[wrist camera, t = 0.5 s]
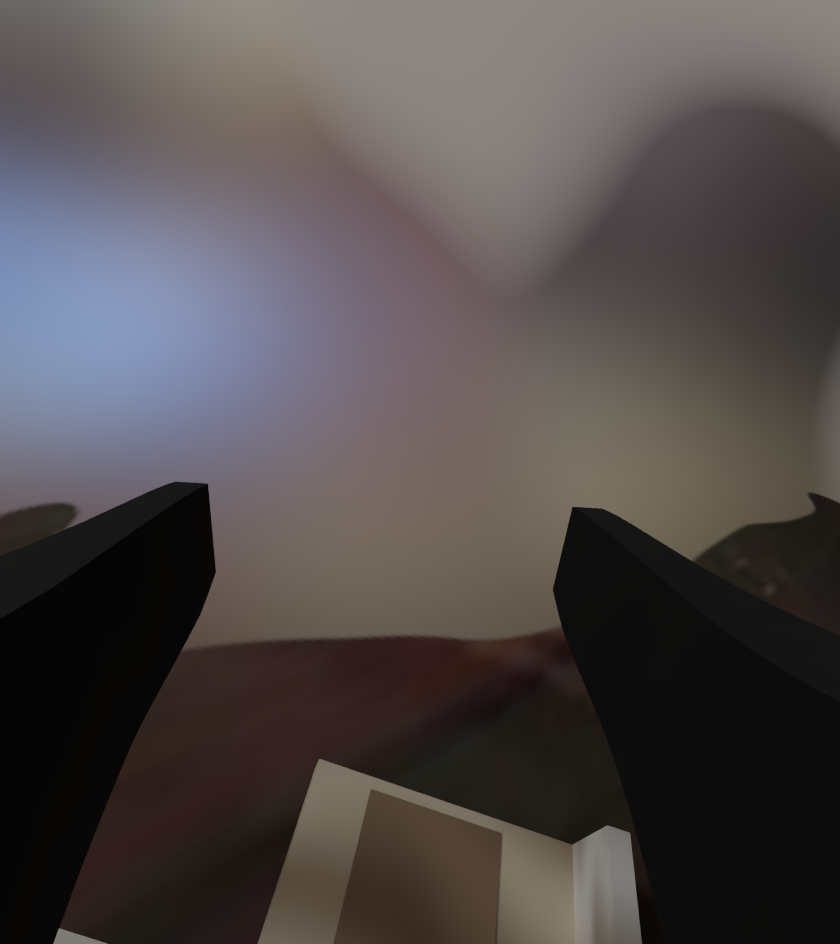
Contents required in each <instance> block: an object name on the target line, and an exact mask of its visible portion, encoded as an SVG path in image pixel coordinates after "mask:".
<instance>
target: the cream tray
mask: <svg viewBox="0 0 840 944" xmlns="http://www.w3.org/2000/svg"><path fill="white" fill-rule="evenodd" d="M258 944H642V940H641V931H640V922H639V912H638V903H637V894H636V884H635V875H634V866H633V857H632V847H631V838H630V833H628V832H625V831H622V830H619V829H617V828H614V827H611V826H608V825H607V826H605V827H604V828H602V829H600V830H598V831H596V832H595V833H593V834H591V835H589V836H587V837H586V838H584V839H582V840H580V841H578V842H577V843H575V844H573V845H571V844H568V843H565V842H562V841H559V840H556V839H553V838H551V837H548V836H545V835H542V834H539V833H536V832H533V831H530V830H527V829H524V828H521V827H518V826H515V825H512V824H509V823H506V822H503V821H501V820H498V819H495V818H492V817H489V816H486V815H483V814H480V813H477V812H474V811H471V810H468V809H465V808H462V807H459V806H456V805H454V804H451V803H448V802H445V801H442V800H439V799H436V798H433V797H430V796H427V795H424V794H421V793H418V792H415V791H412V790H409V789H406V788H404V787H401V786H398V785H395V784H392V783H389V782H386V781H383V780H380V779H377V778H374V777H371V776H368V775H365V774H362V773H359V772H357V771H354V770H351V769H348V768H345V767H342V766H339V765H336V764H333V763H330V762H327V761H324V760H321V759H319V761H318V763H317V765H316V767H315V770H314V773H313V776H312V779H311V783H310V786H309V789H308V792H307V795H306V798H305V801H304V804H303V807H302V810H301V813H300V816H299V819H298V822H297V825H296V828H295V831H294V835H293V838H292V841H291V844H290V847H289V850H288V853H287V856H286V859H285V862H284V865H283V868H282V871H281V874H280V877H279V880H278V883H277V886H276V890H275V893H274V896H273V899H272V902H271V905H270V908H269V911H268V914H267V917H266V920H265V923H264V926H263V929H262V932H261V935H260V938H259V941H258Z"/></svg>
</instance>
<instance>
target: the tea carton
mask: <svg viewBox="0 0 840 944" xmlns="http://www.w3.org/2000/svg"><path fill="white" fill-rule="evenodd" d="M53 944H106V943H103V942H100V941H97V940H94V939H91V938H88V937H84V936H81V935H78V934H75V933H72V932H69V931H66V930H62V929H59V930H58V932H57V935H56V938H55V941H54V943H53Z"/></svg>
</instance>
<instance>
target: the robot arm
mask: <svg viewBox="0 0 840 944" xmlns="http://www.w3.org/2000/svg"><path fill="white" fill-rule="evenodd" d="M215 573H216V570H215V558H214V547H213V535H212V525H211V513H210V502H209V491H208V484H202V483H187V482H173V483H170V484H167V485H164V486H162V487H160V488H157V489H154V490H152V491H150V492H147V493H145V494H143V495H141V496H139V497H136V498H134V499H132V500H130V501H128V502H126V503H124V504H121V505H119V506H117V507H115V508H113V509H110V510H109V511H106V512H104V513H102V514H100V515H97V516H95V517H93V518H91V519H89V520H87V521H85V522H82V523H80V524H78V525H75V526H73V527H70V528H68V529H66V530H63V531H61V532H59V533H56V534H54V535H51V536H49V537H47V538H44V539H42V540H40V541H37V542H35V543H32V544H30V545H28V546H25V547H23V548H20V549H18V550H15V551H13V552H10V553H7V554H5V555H2V556H0V944H53V943H54V941H55V938H56V935H57V932H58V930H59V927H60V924H61V922H62V919H63V916H64V913H65V911H66V908H67V905H68V903H69V900H70V897H71V894H72V892H73V889H74V886H75V883H76V881H77V878H78V875H79V873H80V870H81V867H82V865H83V862H84V860H85V857H86V855H87V852H88V849H89V847H90V844H91V842H92V839H93V837H94V834H95V832H96V829H97V827H98V824H99V822H100V819H101V816H102V814H103V811H104V809H105V806H106V804H107V801H108V799H109V797H110V794H111V792H112V789H113V787H114V785H115V782H116V780H117V777H118V775H119V773H120V770H121V768H122V766H123V763H124V761H125V758H126V756H127V754H128V751H129V749H130V747H131V744H132V742H133V740H134V738H135V736H136V734H137V732H138V730H139V728H140V726H141V724H142V722H143V720H144V718H145V716H146V714H147V712H148V710H149V709H150V707H151V705H152V703H153V701H154V699H155V698H156V696H157V694H158V692H159V690H160V688H161V687H162V685H163V683H164V681H165V679H166V677H167V676H168V674H169V672H170V670H171V668H172V667H173V665H174V663H175V661H176V659H177V657H178V656H179V654H180V652H181V650H182V648H183V646H184V644H185V642H186V641H187V639H188V637H189V635H190V633H191V631H192V629H193V627H194V626H195V624H196V622H197V620H198V618H199V616H200V614H201V611H202V608H203V606H204V603H205V601H206V598H207V596H208V593H209V590H210V587H211V584H212V581H213V578H214V576H215ZM553 592H554V596H555V601H556V605H557V609H558V613H559V617H560V621H561V625H562V628H563V632H564V635H565V637H566V640H567V643H568V645H569V648H570V650H571V653H572V655H573V657H574V660H575V662H576V665H577V667H578V670H579V672H580V675H581V677H582V679H583V682H584V684H585V687H586V689H587V691H588V694H589V696H590V699H591V701H592V703H593V706H594V708H595V711H596V713H597V715H598V718H599V720H600V723H601V725H602V727H603V730H604V732H605V735H606V738H607V740H608V743H609V746H610V748H611V751H612V754H613V757H614V760H615V763H616V766H617V769H618V773H619V776H620V780H621V783H622V786H623V790H624V793H625V796H626V800H627V803H628V806H629V810H630V813H631V816H632V820H633V824H634V827H635V831H636V835H637V838H638V842H639V846H640V849H641V853H642V857H643V860H644V864H645V868H646V871H647V875H648V879H649V883H650V887H651V891H652V895H653V899H654V903H655V907H656V911H657V916H658V920H659V924H660V928H661V932H662V936H663V940H664V944H840V635H837V634H835V633H832V632H830V631H828V630H825V629H823V628H821V627H818V626H816V625H814V624H812V623H809V622H807V621H805V620H803V619H801V618H799V617H796V616H794V615H792V614H790V613H788V612H786V611H784V610H782V609H780V608H778V607H775V606H773V605H771V604H769V603H767V602H765V601H763V600H761V599H759V598H757V597H755V596H753V595H751V594H749V593H747V592H745V591H744V590H742V589H740V588H738V587H736V586H734V585H733V584H731V583H729V582H727V581H725V580H724V579H722V578H720V577H718V576H716V575H715V574H713V573H711V572H709V571H708V570H706V569H704V568H702V567H701V566H699V565H697V564H696V563H694V562H692V561H691V560H689V559H687V558H686V557H684V556H682V555H681V554H679V553H677V552H676V551H674V550H672V549H671V548H669V547H667V546H666V545H664V544H663V543H661V542H659V541H658V540H656V539H655V538H653V537H651V536H650V535H648V534H647V533H645V532H643V531H642V530H640V529H638V528H637V527H635V526H634V525H632V524H630V523H628V522H627V521H625V520H623V519H622V518H620V517H618V516H616V515H614V514H612V513H610V512H608V511H606V510H604V509H598V508H582V507H573V508H572V512H571V516H570V520H569V524H568V528H567V533H566V537H565V542H564V545H563V549H562V554H561V558H560V562H559V566H558V570H557V574H556V579H555V584H554V587H553Z"/></svg>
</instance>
